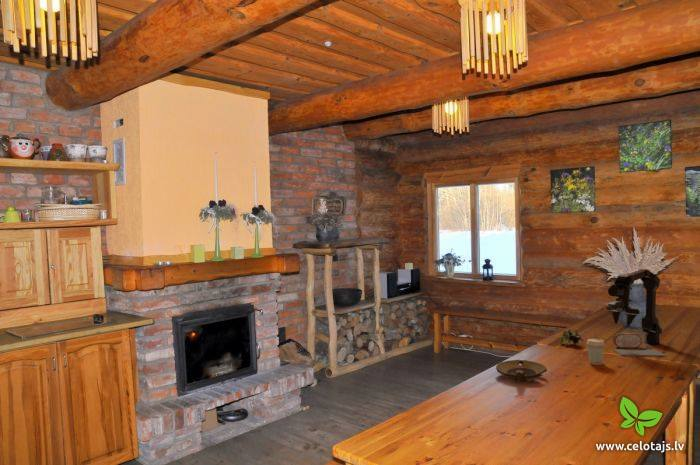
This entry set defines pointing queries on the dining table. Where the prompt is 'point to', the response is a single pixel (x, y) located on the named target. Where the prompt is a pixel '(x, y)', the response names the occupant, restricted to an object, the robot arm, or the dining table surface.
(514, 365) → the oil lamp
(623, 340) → the tin
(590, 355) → the coffee cup
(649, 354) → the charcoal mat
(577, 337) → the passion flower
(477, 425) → the dining table surface
